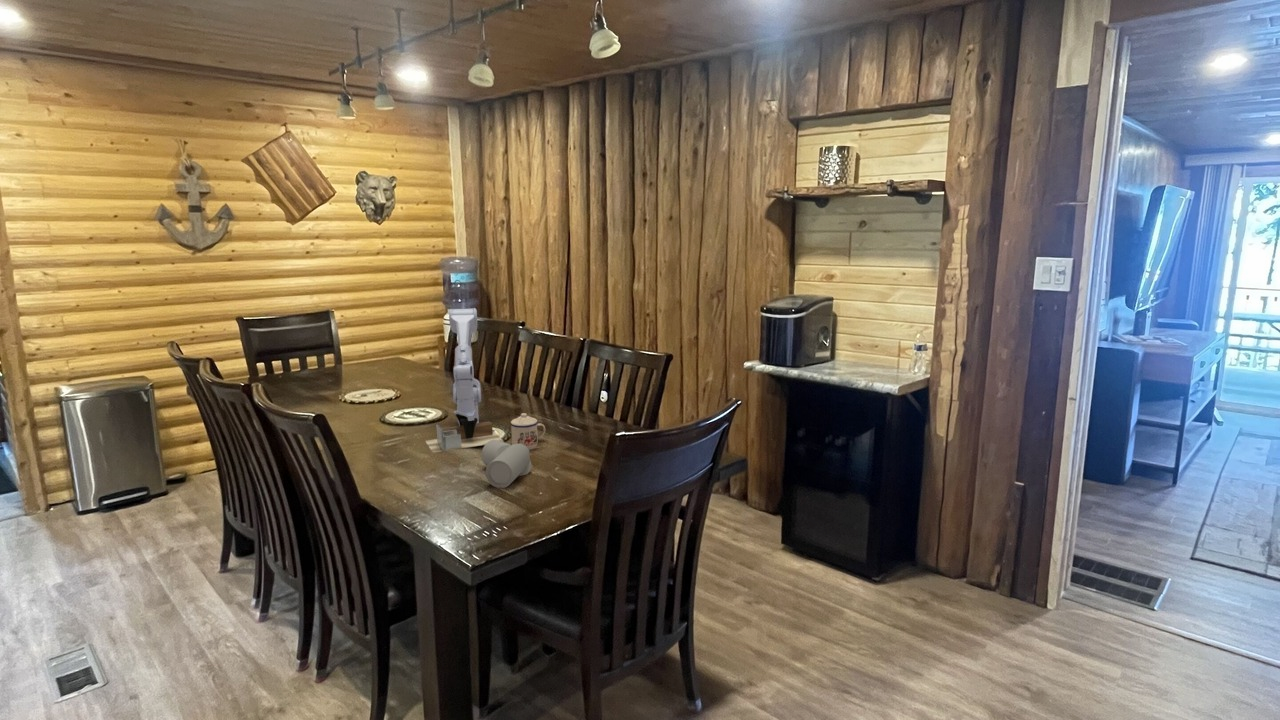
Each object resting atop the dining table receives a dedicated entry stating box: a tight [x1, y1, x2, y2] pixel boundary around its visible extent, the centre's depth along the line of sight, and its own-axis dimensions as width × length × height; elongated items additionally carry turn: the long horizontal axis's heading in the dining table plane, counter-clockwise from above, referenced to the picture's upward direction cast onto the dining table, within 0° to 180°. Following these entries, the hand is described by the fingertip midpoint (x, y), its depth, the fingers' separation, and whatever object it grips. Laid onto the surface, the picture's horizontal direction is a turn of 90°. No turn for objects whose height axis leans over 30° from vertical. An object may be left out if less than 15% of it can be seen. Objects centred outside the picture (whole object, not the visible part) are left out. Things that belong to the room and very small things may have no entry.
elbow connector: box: [480, 440, 532, 489], centre depth 210 cm, size 18×11×20 cm
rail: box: [441, 421, 494, 440], centre depth 244 cm, size 4×17×4 cm, turn 117°
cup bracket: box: [435, 424, 462, 452], centre depth 234 cm, size 8×6×7 cm
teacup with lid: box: [510, 412, 546, 451], centre depth 236 cm, size 12×9×12 cm
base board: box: [424, 430, 505, 454], centre depth 240 cm, size 14×24×1 cm, turn 117°
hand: (467, 435), depth 244 cm, fingers open, 6 cm apart
